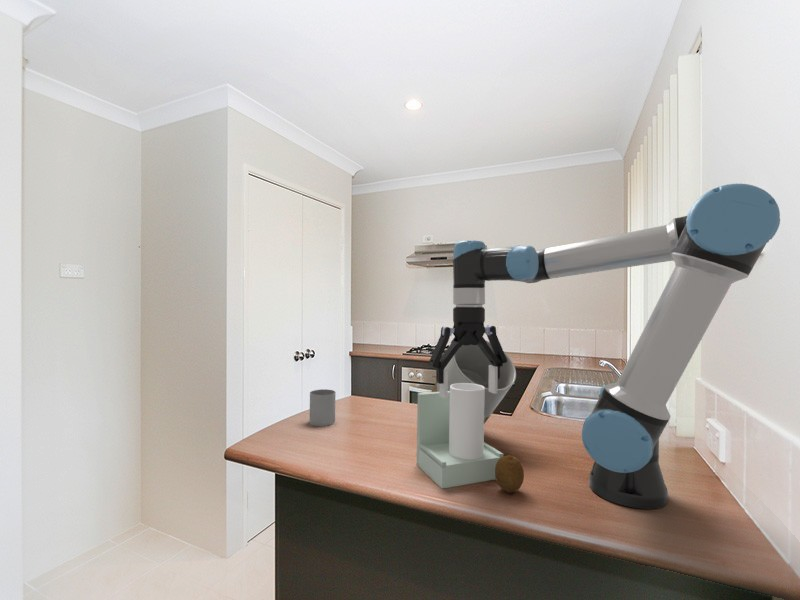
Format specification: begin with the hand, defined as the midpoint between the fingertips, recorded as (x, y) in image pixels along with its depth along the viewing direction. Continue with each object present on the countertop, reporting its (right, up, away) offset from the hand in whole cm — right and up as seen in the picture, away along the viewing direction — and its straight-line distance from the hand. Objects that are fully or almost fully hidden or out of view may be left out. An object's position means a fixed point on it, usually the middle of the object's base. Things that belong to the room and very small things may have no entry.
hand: (468, 395), depth 99 cm
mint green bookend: (-2, -19, +2) cm, 19 cm away
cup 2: (-1, -14, 0) cm, 14 cm away
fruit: (+7, -20, -8) cm, 22 cm away
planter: (0, -14, +34) cm, 36 cm away
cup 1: (-42, -18, +39) cm, 60 cm away
